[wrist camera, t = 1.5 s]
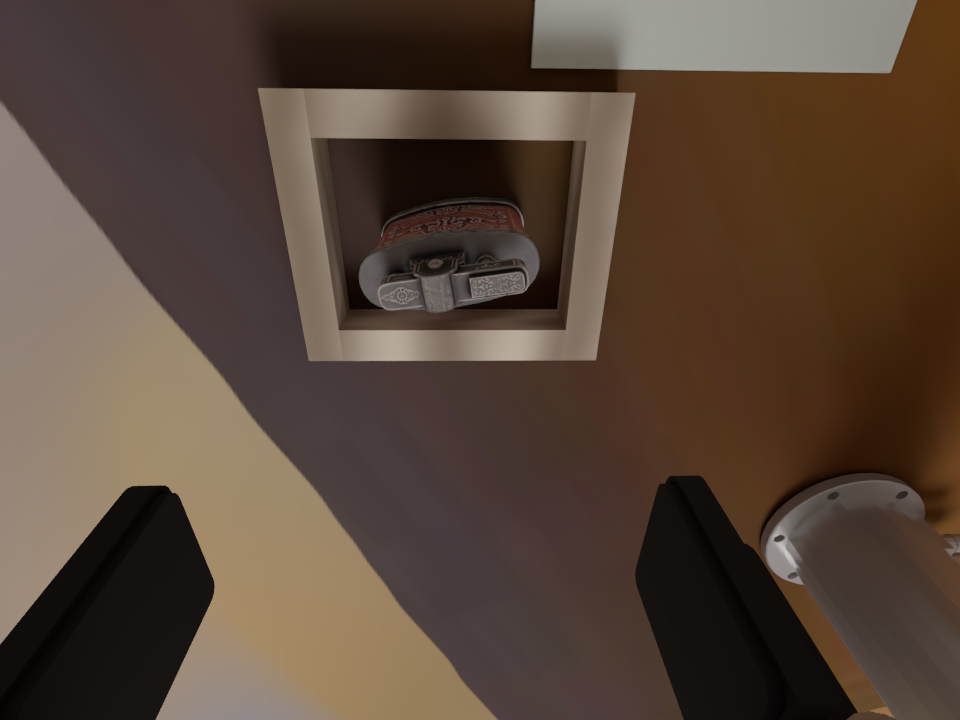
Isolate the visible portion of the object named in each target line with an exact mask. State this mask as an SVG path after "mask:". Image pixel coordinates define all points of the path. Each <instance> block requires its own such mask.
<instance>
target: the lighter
mask: <svg viewBox="0 0 960 720" xmlns="http://www.w3.org/2000/svg"><path fill="white" fill-rule="evenodd" d="M539 262H540V260H539V255H538V251H537V248H536V246H535V244H534V243H533V241H532V240H531V238H530V237H529V236H528V235H526V232H525V230H524V221H523V217H522V214H521V212H520V210H519V208H518V207H517V205H516V204H514V203H513V202H512V201H511V200H507V199H502V198H484V197H471V198H456V199H446V200H441V201H437V202H432V203H428V204H423V205H419V206H416V207H414V208H411V209H408V210H405V211H402V212H399V213H397V214H394V215H393V216H391V217H390V218H389V219H388V220H387V222H386V223H385V225H384V227H383V230H382V234H381V239H380V241H379V243H378V245H377V246H376V248H375V250H373V251H371V252H370V253H369V254H368V255H367V256H366V258H365V259H364V261H363V263H362V264H361V266H360V271H359V283H360V287H361V289H362V291H363V293H364V295H365V296H366V297H367V298H368V299H369V301H370V302H372V303H374V304H375V305H377V306H379V307H383V308H384V309H386V310H401V309H413V310H426V311H427V312H429V313H439V312H446V311H449V310H452V309H454V308H455V307H460V306H465V305H470V304H475V303H480V302H485V301H490V300H493V299H496V298H499V297H502V296H506V295H514V294H519V293H523V292H525V291H526V290H527V288H528V287H529V286H530V284H531V283H532V282H533V281H534V280H535V278H536V276H537V273H538V271H539Z"/></svg>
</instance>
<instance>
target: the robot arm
mask: <svg viewBox="0 0 960 720" xmlns="http://www.w3.org/2000/svg"><path fill="white" fill-rule="evenodd" d="M924 519H925V507H924V503H923V501H922V499H921V497H920V496H919V495H918V494H917V493H916V492H915V491H914V490H913V489H912V488H911V487H910V486H909V485H907V484H906V483H905V482H903V481H902V480H900V479H898V478H895V477H892V476H890V475H885V474H878V473H856V474H849V475H843V476H839V477H835V478H832V479H828V480H825V481H823V482H820V483H818V484H815V485H813V486H811V487H809V488H807V489H805V490H804V491H802V492H800V493H798V494H797V495H795V496H794V497H793V498H791V499H790V500H788V501H787V502H786V503H785V504H783V505H782V506H781V507H780V508H779V509H778V510H777V511H776V512H775V513H774V515H773V516H772V517H771V519H770V520H769V521H768V523H767V525H766V527H765V529H764V531H763V534H762V538H761V552H762V554H763V557H764V559H765V561H766V562H767V564H768V565H769V567H770V568H771V570H772V571H773V572H774V573H775V574H777V575H778V576H779V577H781V578H783V579H784V580H787V581H790V582H793V583H797V584H802V585H804V586H805V587H806V588H807V590H808V591H809V593H810V594H811V596H812V597H813V599H814V600H815V602H816V603H817V605H818V606H819V608H820V609H821V611H822V612H823V614H824V615H825V617H826V618H827V619H828V621H829V622H830V624H831V625H832V627H833V628H834V630H835V631H836V633H837V634H838V636H839V637H840V639H841V640H842V642H843V643H844V645H845V646H846V648H847V649H848V650H849V652H850V653H851V655H852V656H853V658H854V659H855V661H856V662H857V664H858V665H859V667H860V668H861V670H862V671H863V673H864V674H865V676H866V677H867V679H868V680H869V681H870V683H871V684H872V686H873V687H874V689H875V690H876V692H877V693H878V695H879V696H880V698H881V699H882V701H883V702H884V704H885V705H886V707H887V708H888V709H889V711H890V712H891V714H892V715H893V717H894V718H895V719H894V718H892V717H890V716H888V715H885V714H880V713H874V712H870V711H867V712H860V713H858V712H857V710H856V709H855V707H854V706H853V704H852V703H851V701H850V699H849V698H848V696H847V695H846V693H845V691H844V690H843V688H842V687H841V685H840V684H839V682H838V680H837V679H836V677H835V676H834V674H833V672H832V671H831V669H830V668H829V666H828V665H827V663H826V661H825V660H824V658H823V657H822V655H821V653H820V652H819V650H818V649H817V647H816V646H815V644H814V642H813V641H812V639H811V638H810V636H809V634H808V633H807V631H806V630H805V628H804V627H803V625H802V623H801V622H800V620H799V619H798V617H797V615H796V614H795V612H794V611H793V609H792V607H791V606H790V604H789V603H788V601H787V600H786V598H785V596H784V595H783V593H782V592H781V590H780V588H779V587H778V585H777V584H776V582H775V581H774V579H773V577H772V576H771V574H770V573H769V571H768V569H767V568H766V566H765V565H764V563H763V562H762V560H761V558H760V557H759V555H758V554H757V553H756V552H755V550H754V549H753V548H752V547H750V546H749V545H747V544H744V543H743V542H742V540H741V538H740V537H739V535H738V533H737V532H736V530H735V529H734V527H733V525H732V524H731V522H730V520H729V519H728V517H727V516H726V514H725V512H724V511H723V509H722V507H721V506H720V504H719V503H718V501H717V499H716V498H715V496H714V494H713V493H712V491H711V490H710V488H709V486H708V485H707V483H706V481H705V480H704V479H703V478H702V477H701V476H670V477H669V478H668V479H667V481H666V484H660V485H659V487H658V489H657V493H656V497H655V500H654V504H653V508H652V511H651V515H650V519H649V522H648V526H647V530H646V534H645V537H644V541H643V545H642V548H641V552H640V556H639V559H638V563H637V567H636V574H635V576H636V584H637V588H638V591H639V594H640V597H641V599H642V602H643V605H644V608H645V611H646V614H647V616H648V619H649V622H650V625H651V628H652V631H653V633H654V636H655V639H656V642H657V645H658V648H659V650H660V653H661V656H662V659H663V662H664V665H665V667H666V670H667V673H668V676H669V679H670V682H671V684H672V687H673V690H674V693H675V696H676V699H677V701H678V704H679V707H680V710H681V713H682V716H683V718H684V720H960V534H945V535H940V534H939V533H938V532H937V531H936V530H935V529H934V528H933V527H932V526H930V525H929V524H928V523H927V522H926V521H925V520H924ZM213 594H214V580H213V577H212V575H211V573H210V570H209V568H208V565H207V563H206V560H205V558H204V556H203V553H202V551H201V548H200V546H199V544H198V541H197V539H196V536H195V534H194V531H193V529H192V527H191V524H190V522H189V519H188V517H187V515H186V512H185V510H184V507H183V505H182V503H181V500H180V498H179V496H178V495H177V494H176V493H172V492H171V491H170V489H169V488H168V487H166V486H132V487H130V488H128V489H126V490H125V491H124V492H123V493H122V495H121V496H120V497H119V498H118V500H117V501H116V502H115V503H114V505H113V506H112V507H111V508H110V509H109V511H108V512H107V513H106V514H105V516H104V517H103V518H102V519H101V521H100V522H99V523H98V524H97V526H96V527H95V528H94V529H93V531H92V532H91V533H90V534H89V535H88V537H87V538H86V539H85V540H84V542H83V543H82V544H81V545H80V547H79V548H78V549H77V551H76V552H75V553H74V554H73V555H72V557H71V558H70V559H69V560H68V562H67V563H66V564H65V565H64V566H63V568H62V569H61V570H60V571H59V573H58V574H57V576H55V578H54V579H53V580H52V581H51V583H50V584H49V585H48V586H47V588H46V589H45V590H44V591H43V592H42V594H41V595H40V596H39V597H38V599H37V600H36V601H35V602H34V604H33V605H32V606H31V607H30V609H29V610H28V611H27V612H26V614H25V615H24V616H23V617H22V618H21V620H20V621H19V622H18V623H17V625H16V626H15V627H14V628H13V630H12V631H11V632H10V633H9V635H8V636H7V637H6V638H5V640H4V641H3V642H2V643H1V645H0V720H155V719H156V717H157V715H158V713H159V711H160V709H161V707H162V705H163V703H164V700H165V698H166V696H167V694H168V691H169V690H170V688H171V685H172V683H173V681H174V679H175V677H176V675H177V673H178V671H179V669H180V666H181V664H182V662H183V660H184V658H185V656H186V654H187V651H188V649H189V647H190V645H191V643H192V641H193V639H194V637H195V635H196V632H197V630H198V628H199V626H200V624H201V622H202V619H203V617H204V615H205V613H206V611H207V609H208V607H209V605H210V603H211V600H212V598H213Z"/></svg>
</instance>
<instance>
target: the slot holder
mask: <svg viewBox="0 0 960 720" xmlns="http://www.w3.org/2000/svg"><path fill="white" fill-rule="evenodd" d="M258 91H259V97H260V102H261V107H262V113H263V118H264V123H265V129H266V134H267V139H268V145H269V150H270V155H271V161H272V166H273V171H274V177H275V182H276V187H277V193H278V198H279V203H280V209H281V214H282V219H283V225H284V230H285V235H286V241H287V246H288V251H289V257H290V262H291V268H292V273H293V278H294V284H295V289H296V294H297V300H298V305H299V310H300V316H301V321H302V326H303V332H304V337H305V342H306V348H307V353H308V358H309V361H491V360H596V355H597V349H598V342H599V335H600V328H601V322H602V315H603V308H604V302H605V295H606V288H607V281H608V275H609V268H610V261H611V255H612V248H613V241H614V234H615V228H616V221H617V214H618V208H619V201H620V194H621V187H622V181H623V174H624V167H625V161H626V154H627V147H628V140H629V134H630V127H631V120H632V114H633V107H634V100H635V93H622V92H556V91H479V90H402V89H325V88H258ZM327 138H374V139H473V140H573V141H574V144H573V154H572V164H571V174H570V185H569V195H568V205H567V215H566V225H565V236H564V246H563V256H562V266H561V276H560V287H559V297H558V307H557V309H452V310H449V311H446V312H439V313H429V312H427V311H426V310H413V309H401V310H386V309H350V307H349V300H348V292H347V285H346V277H345V269H344V262H343V254H342V247H341V239H340V231H339V224H338V216H337V209H336V201H335V193H334V186H333V178H332V171H331V163H330V155H329V148H328V140H327Z"/></svg>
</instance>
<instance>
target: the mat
mask: <svg viewBox="0 0 960 720" xmlns="http://www.w3.org/2000/svg"><path fill="white" fill-rule="evenodd" d="M916 2H917V0H535V1H534V19H533V37H532V56H531V68H556V69H626V70H696V71H766V72H836V73H891V70H892V67H893V65H894V62H895V59H896V57H897V54H898V51H899V48H900V46H901V43H902V40H903V38H904V35H905V32H906V30H907V27H908V24H909V21H910V19H911V16H912V13H913V11H914V8H915V5H916Z"/></svg>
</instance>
